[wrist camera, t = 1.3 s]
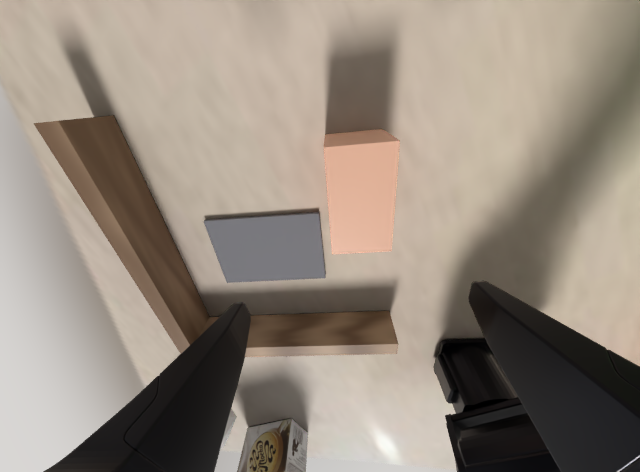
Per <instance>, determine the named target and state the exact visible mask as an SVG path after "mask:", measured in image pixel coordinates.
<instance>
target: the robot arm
mask: <svg viewBox="0 0 640 472" xmlns="http://www.w3.org/2000/svg"><path fill="white" fill-rule="evenodd" d="M469 303H470V306H471V308H472V310H473V312H474V315H475V317H476V319H477V321H478V324H479V326H480V328H481V330H482V333H483V335H484V337H485V339H466V340H444V341H442V342H441V345H440V348H439V352H438V355H437V357H436V360H435V364H434V372H435V374H436V375H437V378H438V380H439V383H440V385H441V388H442V391H443V393H444V396H445V399H446V401H447V402H448V403H452V404H453V407H454V409H455V412H456V414H453V415H451V414H449V415H445V417H446V421H447V423H446V425H447V429H448V433H449V437H450V440H451V444H452V448H453V452H454V456H455V462H456V469H457V472H640V366H638V365H636V364H634V363H632V362H630V361H629V360H627V359H625V358H623V357H621V356H620V355H618V354H616V353H614V352H612V351H611V350H607V349H606V348H605V347H603V346H601V345H600V344H598V343H596V342H594V341H592V340H591V339H589V338H587V337H585V336H583V335H582V334H580V333H578V332H576V331H574V330H573V329H571V328H569V327H567V326H566V325H564V324H562V323H560V322H558V321H557V320H555V319H553V318H551V317H549V316H548V315H546V314H544V313H542V312H540V311H539V310H537V309H535V308H533V307H531V306H530V305H528V304H526V303H524V302H522V301H521V300H519V299H517V298H515V297H513V296H512V295H510V294H508V293H506V292H504V291H503V290H501V289H499V288H497V287H496V286H494V285H492V284H490V283H488V282H486V281H475V282H473V283H472V284H471V289H470V293H469ZM250 323H251V316H250V313H249V311H248V309H247V307H246V305H245V303H243V302H241V303H234V304H233V305H232V306H231V307H230V308H228V309H227V310H226V311H225V312H224V313H223V314H222V315H221V316H220V317H219V318H218V319H217V320H216V321H215V322H214V323H213V324H212V325H211V326H210V327H209V328H208V329H207V330H205V331H204V332H203V333H202V334H201V335H200V336H199V337H198V338H197V339H196V340H195V341H194V342H193V343H192V344H191V345H190V346H189V347H188V348H187V349H186V350H185V351H183V352H182V353H181V354H180V355H179V356H178V357H177V358H176V359H175V360H174V361H173V362H172V363H171V364H170V365H169V366H168V367H167V368H166V369H165V370H164V371H163V372H161V373H160V375H159V376H157V377H156V378H155V379H154V380H153V381H152V382H151V383H150V384H149V385H148V386H147V387H146V388H145V389H143V390H142V391H141V392H140V393H139V394H138V395H137V396H136V397H135V398H134V399H133V400H132V401H130V402H129V403H128V404H127V405H126V406H125V407H124V408H122V409H121V410H120V411H119V412H118V413H117V414H116V415H114V416H113V417H112V418H111V419H110V420H108V421H107V422H106V423H105V424H104V425H103V426H101V427H100V428H99V429H98V430H97V431H96V432H95V433H93V434H92V435H91V436H90V437H89V438H87V439H86V440H85V441H84V442H83V443H82V444H81V445H79V446H78V447H77V448H76V449H74V450H73V451H72V452H71V453H70V454H69V455H67V456H66V457H65V458H63V459H62V460H61V461H59V462H58V463H56V464H55V465H54V466H52V467H51V468H49V469H47V470H45V471H44V472H214V470H215V466H216V462H217V459H218V455H219V451H220V448H221V444H222V440H223V436H224V433H225V429H226V425H227V422H228V418H229V414H230V411H231V407H232V403H233V400H234V396H235V392H236V388H237V385H238V381H239V377H240V374H241V370H242V366H243V363H244V358H245V354H246V348H247V342H248V335H249V329H250Z"/></svg>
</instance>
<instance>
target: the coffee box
mask: <svg viewBox="0 0 640 472" xmlns="http://www.w3.org/2000/svg"><path fill="white" fill-rule="evenodd" d="M307 442H308V433H307V432H306V431H305V430H304V429H303V428H302V427H300V426H299V425H298V424H297V423H296V422H295V421H294V420H293V419H286V420H282V421H277V422H272V423H268V424H263V425H258V426H254V427H249V428H247V432H246V437H245V441H244V445H243V450H242V454H241V458H240V463H239V467H238V471H237V472H306V458H307Z"/></svg>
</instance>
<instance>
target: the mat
mask: <svg viewBox="0 0 640 472" xmlns="http://www.w3.org/2000/svg"><path fill="white" fill-rule="evenodd" d="M204 224H205V226H206V229H207V232H208V234H209V237H210V240H211V242H212V245H213V247H214V250H215V253H216V255H217V258H218V261H219V263H220V266H221V268H222V271H223V274H224V276H225V279H226V282H227V283H231V282H252V281H274V280H296V279H317V278H325V266H324V256H323V246H322V237H321V227H320V217H319V212H311V213H296V214H282V215H267V216H252V217H237V218H222V219H207V220H204Z"/></svg>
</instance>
